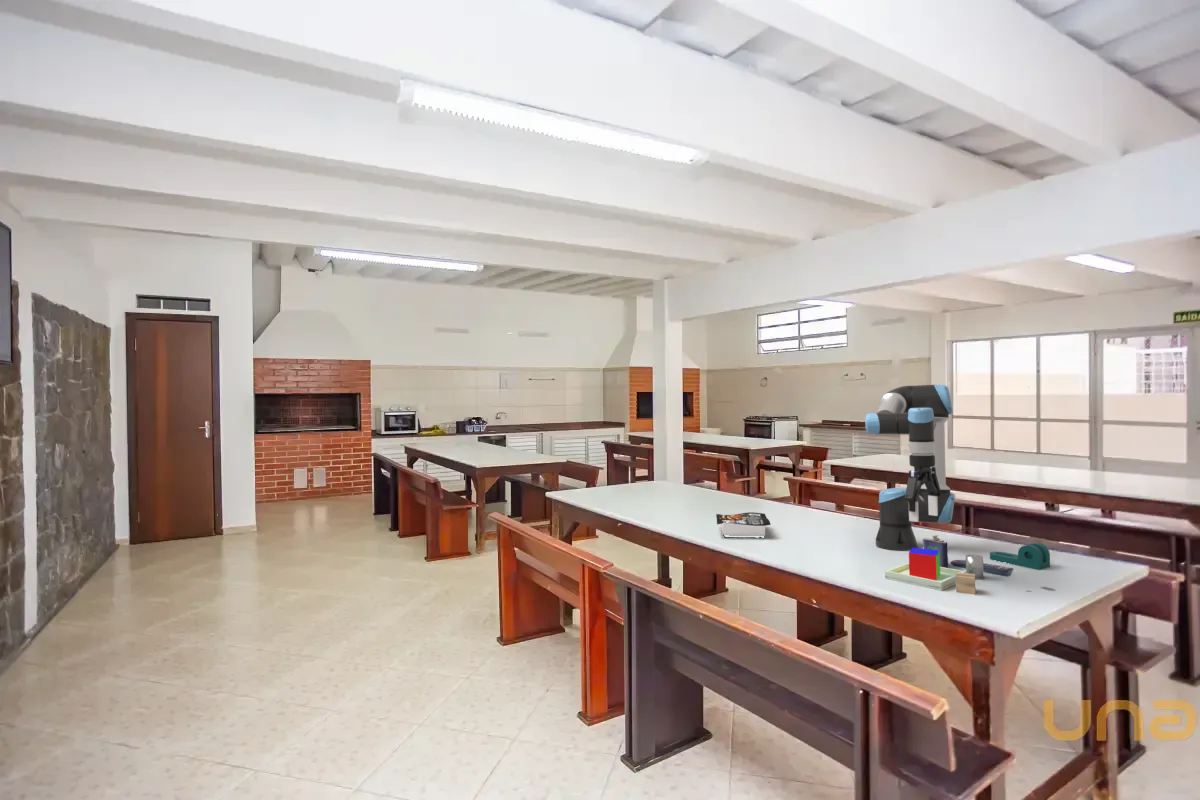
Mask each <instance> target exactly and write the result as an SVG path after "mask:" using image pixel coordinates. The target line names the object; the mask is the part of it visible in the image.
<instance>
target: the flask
mask: <svg viewBox="0 0 1200 800" xmlns="http://www.w3.org/2000/svg"><path fill="white" fill-rule="evenodd" d="M922 543H923V544H922V545H923V546H922V547H923V548H922V549H931V550H939V551H940V567H945V568H949V556H948V554H949V553H948V552H949V551H948V542H947V541H945V540H943V539H940V538H939V534H937V535H932V538H929V537H924V538H922Z"/></svg>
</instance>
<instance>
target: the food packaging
mask: <svg viewBox="0 0 1200 800" xmlns="http://www.w3.org/2000/svg"><path fill="white" fill-rule="evenodd" d="M715 517H716V525H720V526H721V534H722V533H723V534H724V535H729V536H766V527H767V526H771V522H770V519H768V517H767V515H766V513H762V512H755V511H754V512H751V511H750V512H743V513H736V514H719V513H716V515H715ZM723 534H722V535H723Z"/></svg>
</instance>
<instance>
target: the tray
mask: <svg viewBox="0 0 1200 800" xmlns="http://www.w3.org/2000/svg"><path fill="white" fill-rule="evenodd" d="M956 572H959V573H966V570H965V571H964V570H959V569H954V568H950V567H948V568H945V567H940V576H939V578H938V579H937V580H930V579H926V578H921V577H916V576H911V575H909V561H908V562H905V563H903V564H900V565H897V566H894V567H892V568H889V569H887V570H885V571H884V580H885V579H886V580H891V581H895V582H900V583H905V584H908V585H913V586H919V587H923V588H928V589H933V590H935V591H936V590H937V591H940V592H941V591H945V590H946V589H948V588H951V587H952V586H956Z"/></svg>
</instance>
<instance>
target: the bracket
mask: <svg viewBox="0 0 1200 800" xmlns="http://www.w3.org/2000/svg"><path fill="white" fill-rule="evenodd" d="M1050 553H1051V552H1050V550H1049V549H1048V547H1047V546H1046V545H1045V544H1043V543H1039V542H1034V543H1030V544H1026V545H1022V546H1021V547H1019V549H1018V552H1017V554H1015V553H1012V552H1011V553H1010V552H1005V551H989V559H990V560H991V561H994V560H996V561H995V562H998V561H1000V562H999V563H1003V562H1006V563H1005V564H1008V563H1009V565H1013V566H1017V567H1023V568H1027V569H1032V570H1037V571H1040V570H1041V571H1042V570H1044V569H1049V568H1051V554H1050Z"/></svg>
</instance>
